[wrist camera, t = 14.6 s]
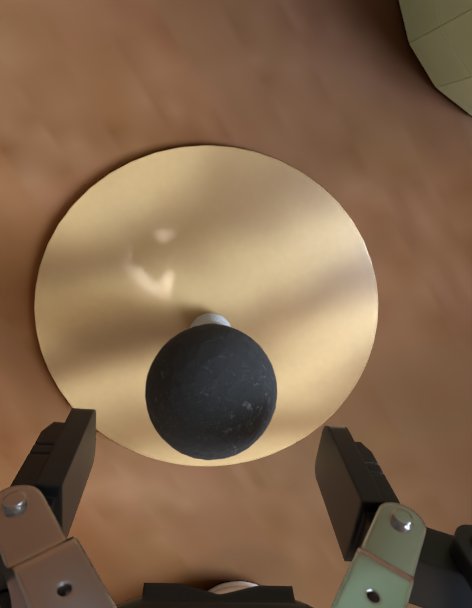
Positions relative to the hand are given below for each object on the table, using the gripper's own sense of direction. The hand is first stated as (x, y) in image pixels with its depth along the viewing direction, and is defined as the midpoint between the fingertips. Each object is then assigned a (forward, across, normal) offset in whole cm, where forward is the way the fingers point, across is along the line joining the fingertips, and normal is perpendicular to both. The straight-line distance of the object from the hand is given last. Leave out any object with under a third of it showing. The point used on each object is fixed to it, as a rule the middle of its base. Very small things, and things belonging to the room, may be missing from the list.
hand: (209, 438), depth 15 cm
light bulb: (+11, 0, 0) cm, 11 cm away
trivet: (+11, 0, 0) cm, 11 cm away
